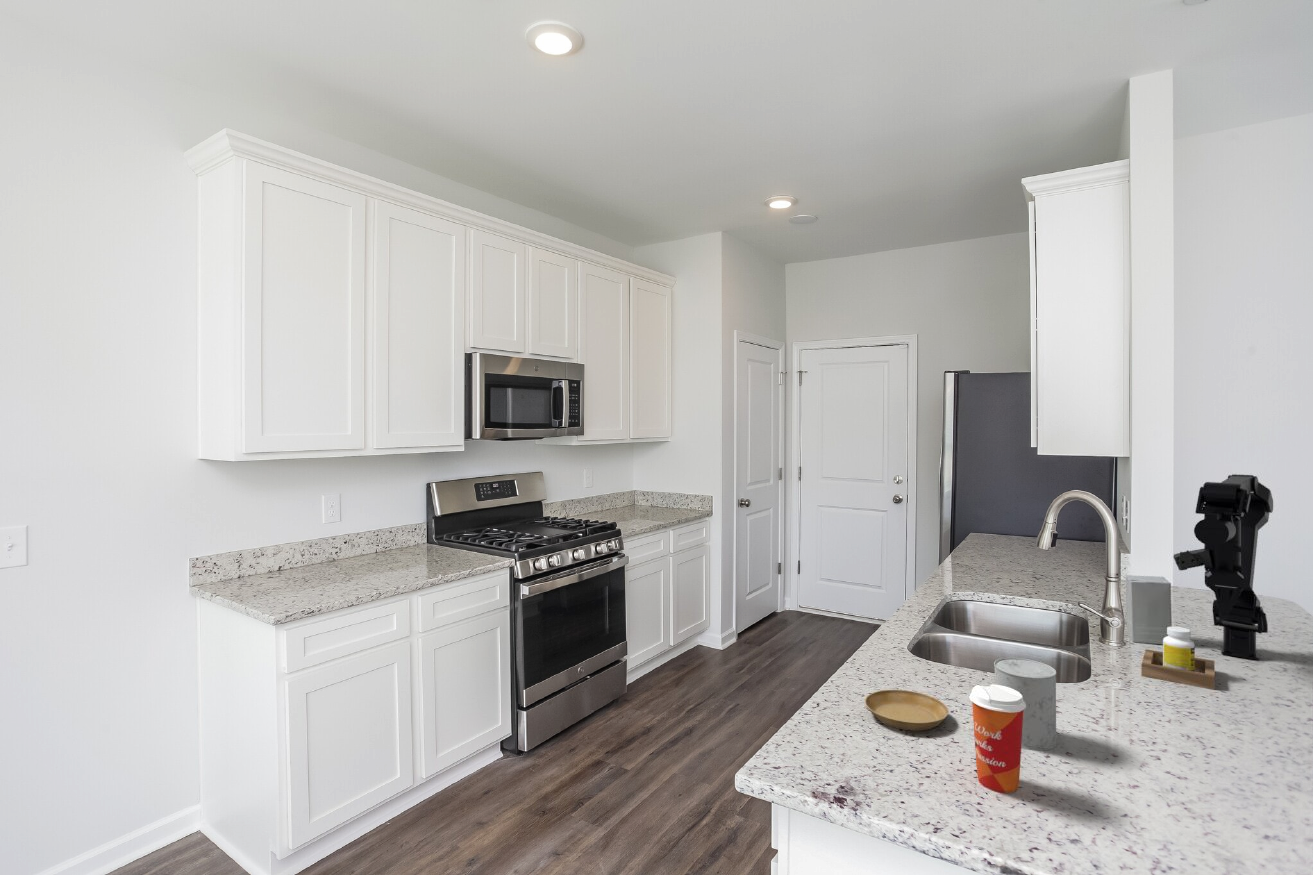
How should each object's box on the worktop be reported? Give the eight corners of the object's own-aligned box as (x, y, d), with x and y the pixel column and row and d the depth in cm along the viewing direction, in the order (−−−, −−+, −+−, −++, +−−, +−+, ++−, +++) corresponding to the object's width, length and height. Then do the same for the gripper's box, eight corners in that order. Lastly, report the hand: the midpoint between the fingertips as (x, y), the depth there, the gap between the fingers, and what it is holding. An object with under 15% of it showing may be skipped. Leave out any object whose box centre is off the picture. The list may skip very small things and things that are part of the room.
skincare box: (1165, 638, 165) (1165, 575, 164) (1173, 647, 158) (1173, 582, 158) (1124, 634, 168) (1124, 573, 168) (1131, 643, 162) (1130, 579, 161)
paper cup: (960, 771, 104) (959, 683, 104) (1006, 768, 105) (1005, 681, 105) (989, 799, 96) (988, 704, 96) (1038, 795, 97) (1038, 701, 97)
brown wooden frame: (1145, 659, 150) (1145, 649, 150) (1214, 672, 143) (1214, 660, 143) (1141, 675, 141) (1141, 664, 141) (1214, 689, 133) (1214, 677, 133)
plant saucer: (849, 717, 125) (849, 703, 124) (890, 695, 134) (890, 682, 134) (923, 745, 113) (923, 730, 113) (963, 719, 123) (963, 705, 123)
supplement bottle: (1196, 680, 138) (1196, 634, 138) (1164, 675, 141) (1164, 630, 141) (1192, 672, 143) (1192, 627, 143) (1161, 667, 146) (1161, 623, 145)
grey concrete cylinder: (1049, 728, 118) (1049, 660, 118) (1063, 753, 109) (1062, 680, 109) (990, 721, 121) (990, 655, 121) (999, 745, 112) (998, 674, 112)
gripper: (1177, 530, 155) (1177, 596, 156) (1174, 542, 141) (1174, 614, 141) (1240, 535, 148) (1240, 604, 148) (1243, 548, 134) (1243, 624, 134)
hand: (1223, 611), depth 143 cm, fingers open, 9 cm apart
